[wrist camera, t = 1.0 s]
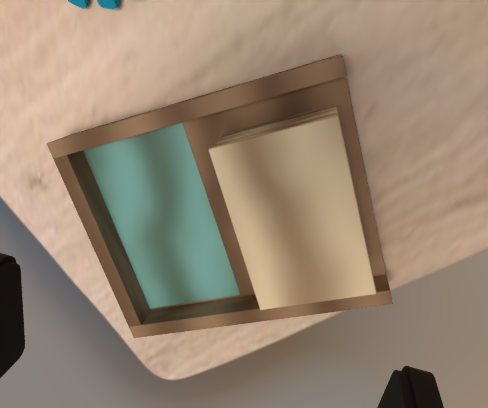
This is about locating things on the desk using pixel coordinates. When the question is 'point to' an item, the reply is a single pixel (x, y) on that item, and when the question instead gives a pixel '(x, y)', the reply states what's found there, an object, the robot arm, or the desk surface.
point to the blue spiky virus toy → (104, 0)
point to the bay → (196, 202)
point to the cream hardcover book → (295, 209)
